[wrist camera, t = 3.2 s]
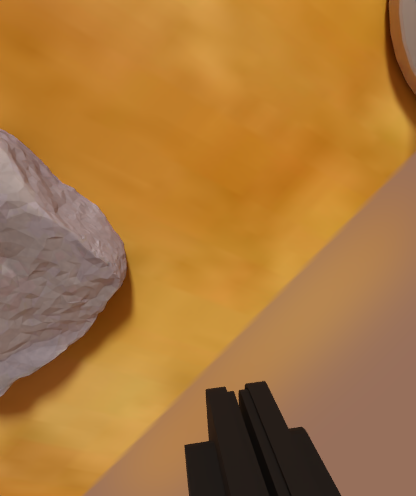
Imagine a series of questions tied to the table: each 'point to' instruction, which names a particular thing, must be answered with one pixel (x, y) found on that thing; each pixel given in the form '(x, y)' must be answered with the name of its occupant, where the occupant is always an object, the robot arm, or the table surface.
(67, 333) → the stone block
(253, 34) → the table surface
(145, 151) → the table surface
